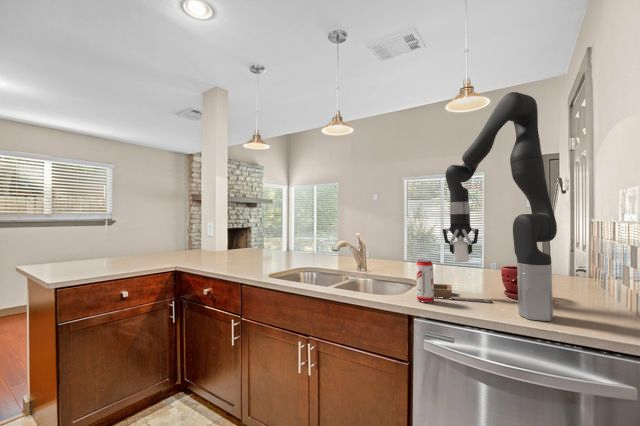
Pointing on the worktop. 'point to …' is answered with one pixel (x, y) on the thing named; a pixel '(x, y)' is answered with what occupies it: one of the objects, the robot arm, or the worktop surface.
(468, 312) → the worktop surface
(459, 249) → the eye dropper bottle
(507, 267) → the plant pot
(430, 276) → the beer can
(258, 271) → the worktop surface
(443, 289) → the hammer
